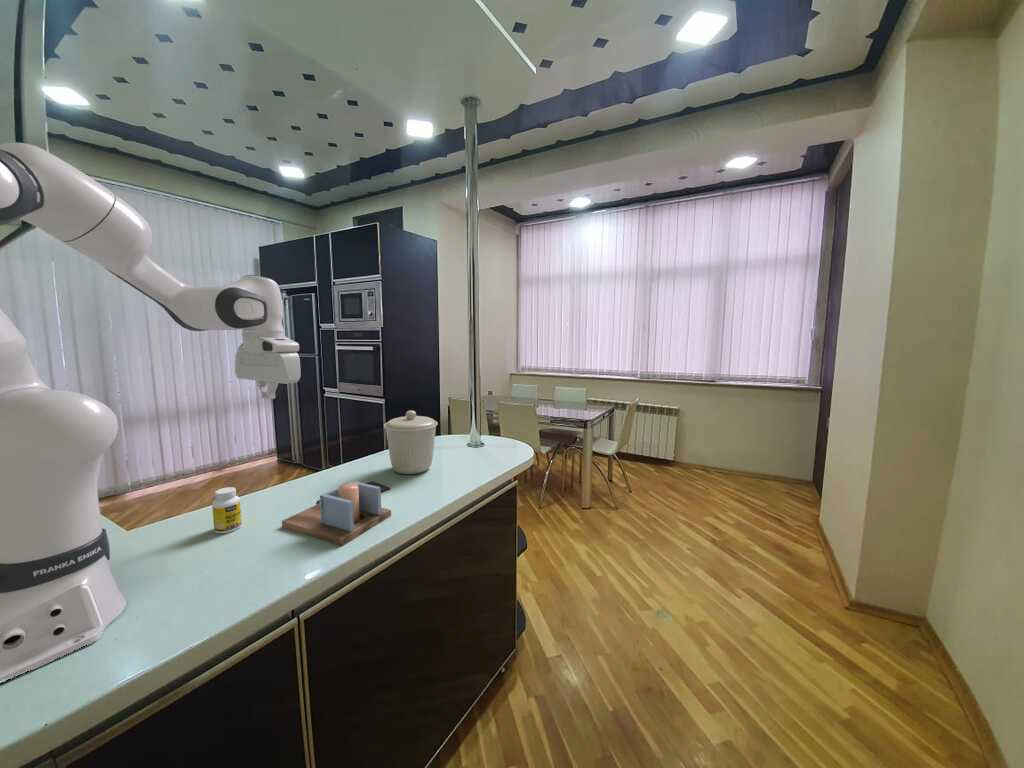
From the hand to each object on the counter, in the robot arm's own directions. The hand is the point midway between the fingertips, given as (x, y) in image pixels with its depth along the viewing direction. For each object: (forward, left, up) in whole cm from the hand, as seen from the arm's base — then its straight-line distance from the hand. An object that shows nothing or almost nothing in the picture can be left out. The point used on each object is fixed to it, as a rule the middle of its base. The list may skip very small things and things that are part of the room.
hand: (268, 398), depth 97 cm
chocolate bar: (+17, -10, -32) cm, 37 cm away
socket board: (+4, -18, -31) cm, 36 cm away
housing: (+4, -23, -29) cm, 37 cm away
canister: (+42, -11, -31) cm, 53 cm away
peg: (+4, -22, -31) cm, 38 cm away
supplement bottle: (-10, +3, -31) cm, 33 cm away
